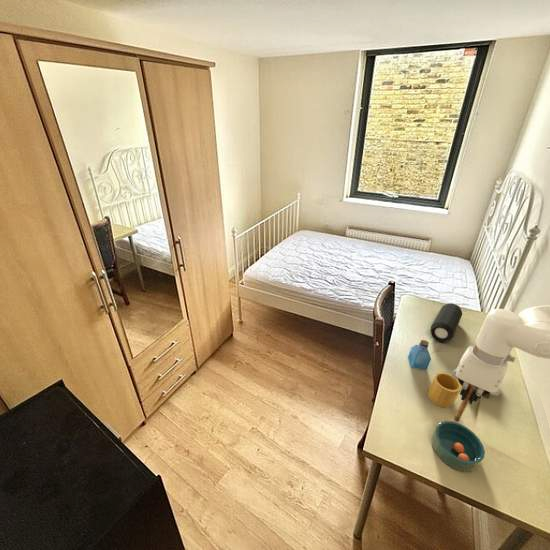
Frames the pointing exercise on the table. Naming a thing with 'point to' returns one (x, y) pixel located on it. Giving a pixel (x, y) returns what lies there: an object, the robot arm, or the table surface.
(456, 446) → the dough ball
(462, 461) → the bowl
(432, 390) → the utensil pot
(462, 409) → the stirring stick
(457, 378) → the robot arm
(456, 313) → the portable speaker
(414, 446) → the table surface
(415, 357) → the perfume bottle
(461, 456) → the dough ball
